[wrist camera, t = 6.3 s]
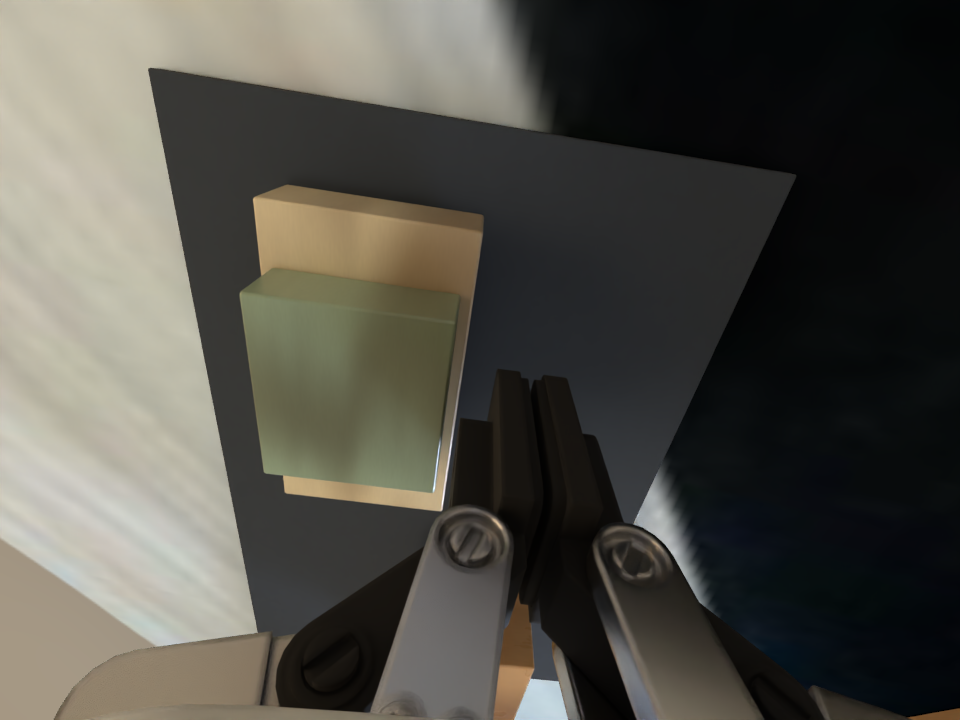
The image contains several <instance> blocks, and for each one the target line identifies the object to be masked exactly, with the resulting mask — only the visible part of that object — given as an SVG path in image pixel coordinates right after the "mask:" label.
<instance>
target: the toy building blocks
mask: <svg viewBox="0 0 960 720" xmlns="http://www.w3.org/2000/svg"><path fill="white" fill-rule="evenodd" d="M908 718H910V719H913V720H960V708H958V709H953V710H947V711H941V712H936V713H930V714H925V715H919V716H914V717H908Z"/></svg>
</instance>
